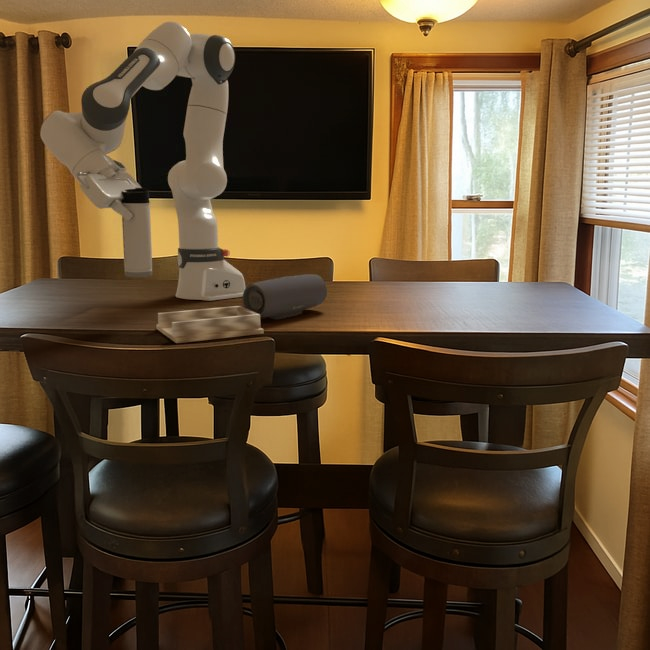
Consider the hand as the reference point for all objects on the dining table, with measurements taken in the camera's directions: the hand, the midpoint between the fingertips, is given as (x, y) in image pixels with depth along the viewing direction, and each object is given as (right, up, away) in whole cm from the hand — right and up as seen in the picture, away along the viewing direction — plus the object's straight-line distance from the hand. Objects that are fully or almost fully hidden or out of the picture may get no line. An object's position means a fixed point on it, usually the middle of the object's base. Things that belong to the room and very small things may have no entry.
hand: (138, 217), depth 157 cm
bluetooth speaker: (+33, -23, +17) cm, 43 cm away
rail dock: (+16, -26, -1) cm, 31 cm away
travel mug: (-1, -13, +3) cm, 14 cm away
